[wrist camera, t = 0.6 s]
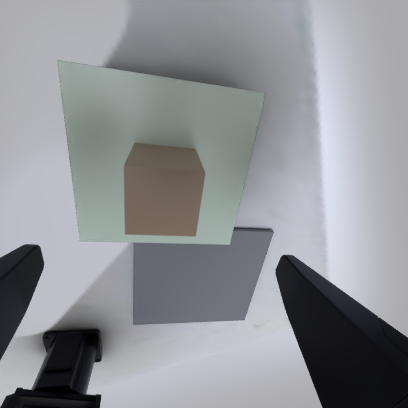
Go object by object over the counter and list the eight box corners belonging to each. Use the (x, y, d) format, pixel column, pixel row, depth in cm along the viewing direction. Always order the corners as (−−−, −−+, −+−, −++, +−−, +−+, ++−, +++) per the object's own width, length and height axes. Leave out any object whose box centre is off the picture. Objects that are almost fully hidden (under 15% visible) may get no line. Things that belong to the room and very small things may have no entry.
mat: (243, 317, 33) (244, 320, 33) (133, 321, 30) (133, 324, 30) (272, 229, 26) (273, 232, 26) (134, 224, 24) (133, 227, 23)
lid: (227, 239, 21) (245, 284, 16) (83, 234, 19) (56, 286, 14) (261, 92, 16) (301, 99, 11) (62, 60, 13) (8, 52, 9)
